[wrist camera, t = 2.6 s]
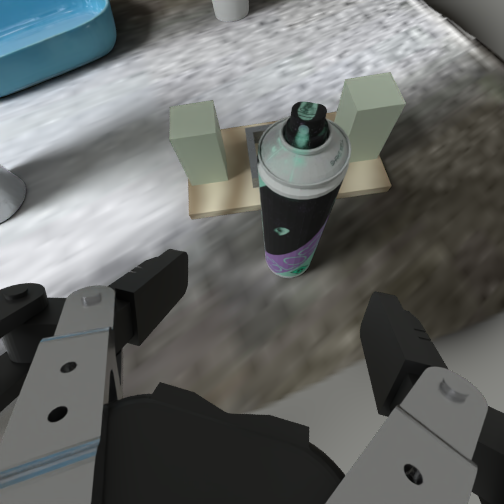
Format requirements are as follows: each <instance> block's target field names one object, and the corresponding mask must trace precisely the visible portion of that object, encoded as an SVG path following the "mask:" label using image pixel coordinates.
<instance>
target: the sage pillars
mask: <svg viewBox="0 0 504 504" xmlns="http://www.w3.org/2000/svg"><path fill="white" fill-rule="evenodd" d="M405 104H406V103H405V101H404V99H403V97H402V95H401V93H400V91H399V89H398V87H397V85H396V83H395V81H394V79H393V77H392V75H391V72H389V73H383V74H376V75H370V76H364V77H357V78H351V79H345V82H344V86H343V90H342V94H341V98H340V102H339V105H338V109H337V113H336V117H335V121H334V123H336V124H337V125H339V126H340V127H341V128H342V129H343V130H344V132H345V133H346V134H347V136H348V138H349V140H350V143H351V157H350V159H349V163H351V162H358V161H365V160H372V159H377V157H378V155H379V154H380V152H381V150H382V148H383V146H384V144H385V142H386V140H387V138H388V137H389V135H390V133H391V131H392V129H393V127H394V125H395V123H396V121H397V119H398V118H399V116H400V114H401V112H402V110H403V108H404V106H405ZM169 140H170V142H171V144H172V146H173V148H174V150H175V152H176V154H177V156H178V158H179V160H180V162H181V164H182V166H183V169H184V171H185V173H186V175H187V177H188V179H189V181H190V183H191V185H192V186H194V185H201V184H208V183H215V182H222V181H228V173H227V162H226V152H225V148H224V144H223V140H222V135H221V131H220V127H219V123H218V119H217V115H216V111H215V107H214V102H213V100H211V101H205V102H199V103H192V104H186V105H179V106H173V107H170V132H169Z"/></svg>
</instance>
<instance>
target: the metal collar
mask: <svg viewBox="0 0 504 504" xmlns="http://www.w3.org/2000/svg"><path fill="white" fill-rule="evenodd" d="M271 125H272V124H268V125H261V126H255V127H248V128H245V133H246V140H247V148H248V155H249V162H250V169H251V176H252V183H253V188H257V187H259V180H258V169H257V156H256V149H255V143H259V141H260V138H261V136H262V135H263V133H264V132H265V131H266V130H267V128H268V127H270V126H271Z"/></svg>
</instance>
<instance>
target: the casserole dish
mask: <svg viewBox="0 0 504 504" xmlns="http://www.w3.org/2000/svg"><path fill="white" fill-rule="evenodd" d="M115 42H116V27H115V22H114V18H113V14H112V10H111V6H110V0H0V97H4V96H7V95H10V94H13V93H15V92H18V91H21V90H24V89H26V88H29V87H31V86H34V85H36V84H39V83H41V82H44V81H46V80H49V79H51V78H53V77H57V76H59V75H62V74H64V73H67V72H69V71H72V70H74V69H77V68H79V67H81V66H84V65H86V64H88V63H91V62H93V61H95V60H97V59H99V58H101V57H103V56H105V55H106V54H108V53H109V52H110V51H111V50H112V49H113V47H114V44H115Z"/></svg>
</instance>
